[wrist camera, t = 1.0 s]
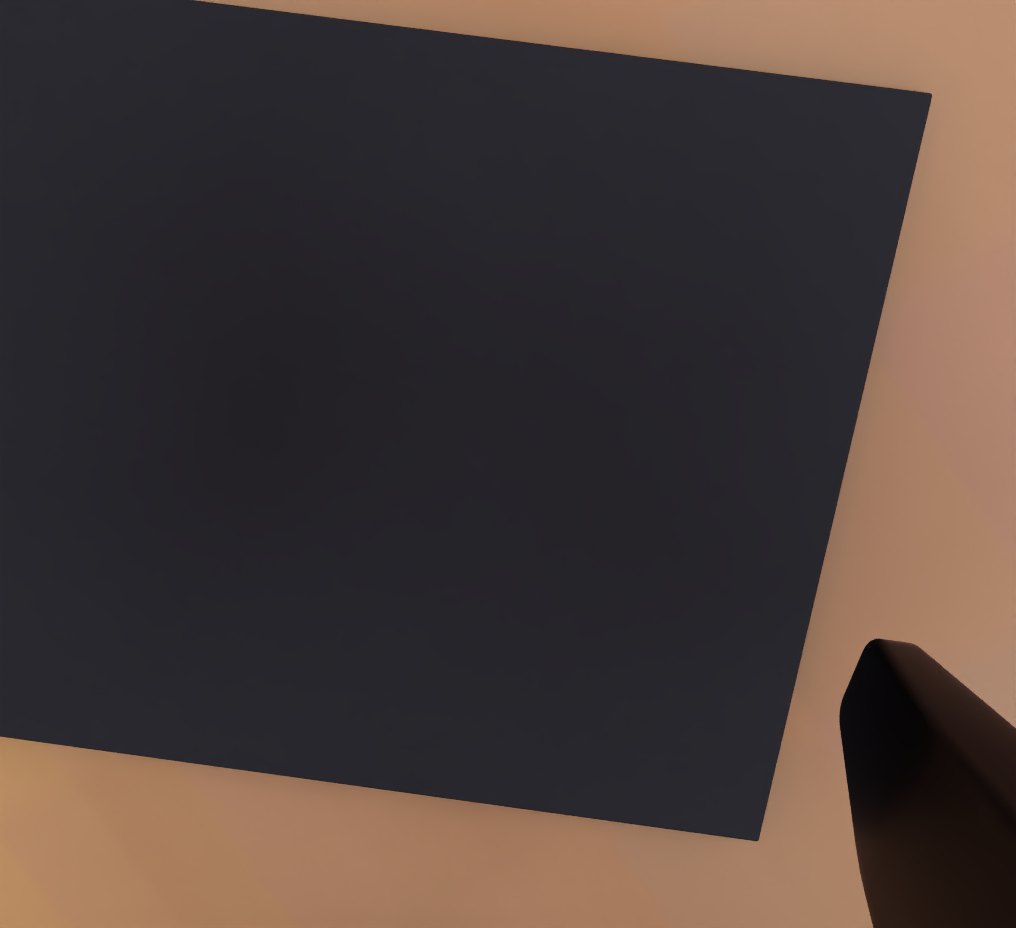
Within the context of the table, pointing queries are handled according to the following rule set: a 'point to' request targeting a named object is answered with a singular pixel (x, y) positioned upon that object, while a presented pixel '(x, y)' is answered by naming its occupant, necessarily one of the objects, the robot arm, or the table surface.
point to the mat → (426, 400)
